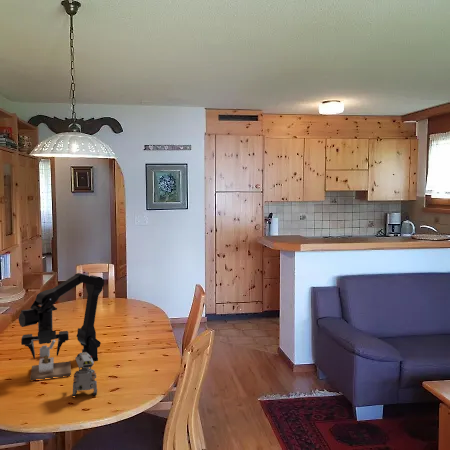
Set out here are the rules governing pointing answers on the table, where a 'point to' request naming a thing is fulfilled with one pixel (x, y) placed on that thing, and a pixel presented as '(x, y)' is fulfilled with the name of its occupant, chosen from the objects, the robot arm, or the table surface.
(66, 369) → the grey peg stand
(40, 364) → the steel link
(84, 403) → the table surface
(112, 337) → the table surface
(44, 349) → the lighter
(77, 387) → the figurine
